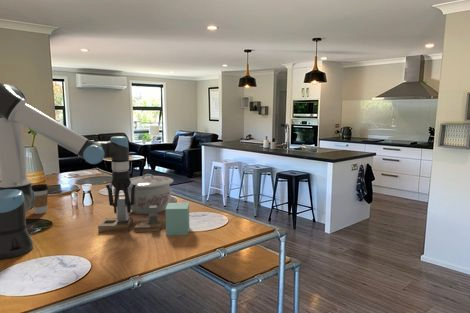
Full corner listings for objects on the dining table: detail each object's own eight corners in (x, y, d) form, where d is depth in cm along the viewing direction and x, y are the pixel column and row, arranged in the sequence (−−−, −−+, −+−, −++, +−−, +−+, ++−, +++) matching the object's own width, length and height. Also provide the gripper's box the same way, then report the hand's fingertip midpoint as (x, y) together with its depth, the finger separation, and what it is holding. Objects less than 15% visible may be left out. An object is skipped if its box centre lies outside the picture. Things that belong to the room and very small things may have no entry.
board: (159, 231, 153) (158, 209, 152) (134, 231, 152) (133, 210, 151) (162, 223, 164) (162, 203, 162) (139, 223, 163) (139, 203, 162)
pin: (125, 224, 155) (124, 198, 154) (118, 224, 155) (117, 199, 153) (127, 221, 159) (126, 197, 157) (120, 221, 158) (119, 197, 157)
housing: (188, 234, 149) (187, 208, 147) (166, 235, 148) (165, 209, 146) (189, 227, 158) (189, 202, 157) (168, 227, 158) (168, 202, 156)
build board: (128, 231, 152) (127, 225, 152) (98, 232, 151) (98, 226, 151) (133, 223, 163) (133, 217, 162) (106, 224, 162) (105, 218, 161)
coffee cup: (41, 215, 175) (39, 187, 173) (27, 214, 177) (25, 186, 175) (53, 210, 183) (51, 183, 181) (40, 209, 185) (37, 182, 183)
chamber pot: (182, 206, 193) (181, 170, 190) (159, 221, 166) (158, 180, 164) (139, 202, 200) (138, 168, 197) (110, 216, 174) (108, 177, 171)
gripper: (140, 168, 158) (142, 216, 161) (104, 169, 156) (107, 217, 160) (137, 171, 150) (139, 222, 153) (99, 172, 149) (102, 222, 152)
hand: (122, 219), depth 157 cm, fingers closed on pin, 3 cm apart
